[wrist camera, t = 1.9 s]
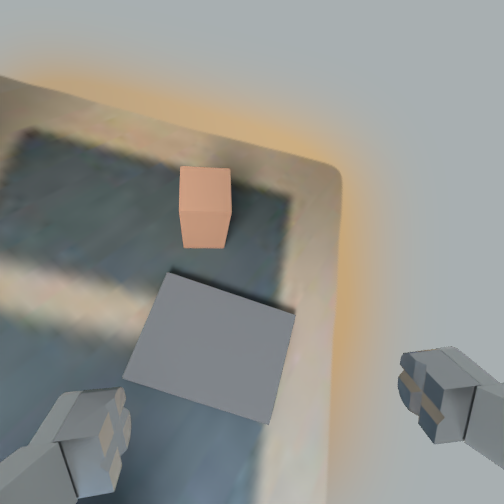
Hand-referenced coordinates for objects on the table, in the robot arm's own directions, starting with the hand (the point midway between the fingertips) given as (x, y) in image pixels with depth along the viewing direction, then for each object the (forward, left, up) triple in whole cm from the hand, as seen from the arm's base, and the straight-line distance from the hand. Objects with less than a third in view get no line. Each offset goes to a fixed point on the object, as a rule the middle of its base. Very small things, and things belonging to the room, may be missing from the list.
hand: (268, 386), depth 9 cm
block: (-7, +15, -27) cm, 32 cm away
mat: (-1, +2, -27) cm, 27 cm away
